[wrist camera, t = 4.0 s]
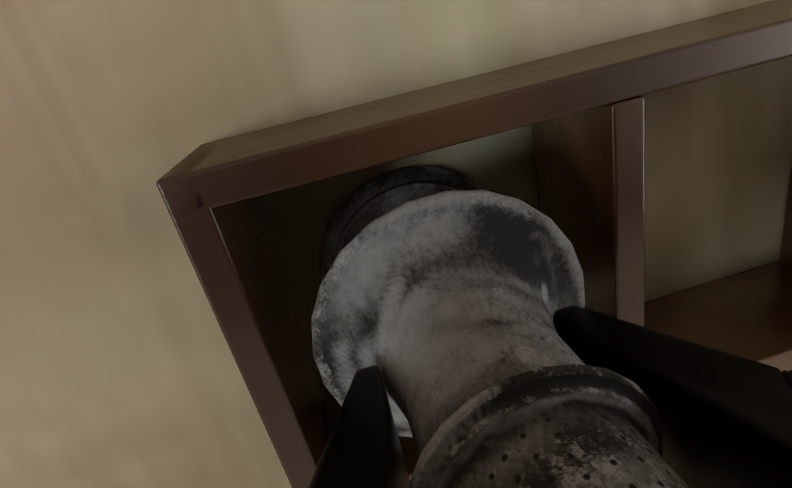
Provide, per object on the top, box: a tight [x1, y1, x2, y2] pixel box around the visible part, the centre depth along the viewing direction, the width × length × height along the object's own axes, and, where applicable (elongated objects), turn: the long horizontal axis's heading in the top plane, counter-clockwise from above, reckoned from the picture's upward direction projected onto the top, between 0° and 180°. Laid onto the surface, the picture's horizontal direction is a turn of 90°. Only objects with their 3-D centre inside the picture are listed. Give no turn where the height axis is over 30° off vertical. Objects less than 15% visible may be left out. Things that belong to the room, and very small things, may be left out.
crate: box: [157, 0, 792, 488], centre depth 13 cm, size 17×17×4 cm
